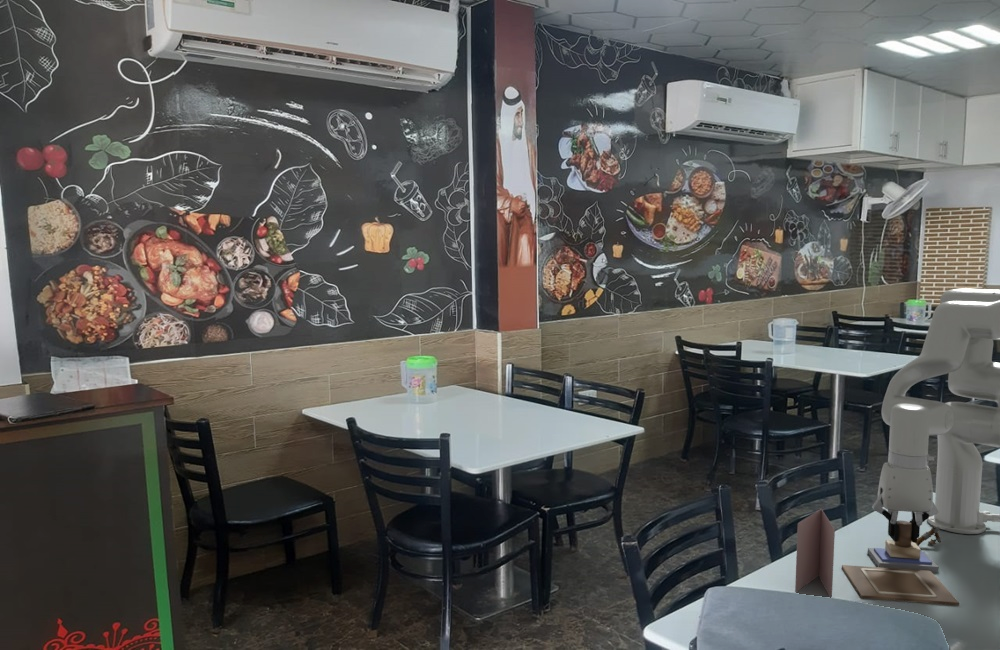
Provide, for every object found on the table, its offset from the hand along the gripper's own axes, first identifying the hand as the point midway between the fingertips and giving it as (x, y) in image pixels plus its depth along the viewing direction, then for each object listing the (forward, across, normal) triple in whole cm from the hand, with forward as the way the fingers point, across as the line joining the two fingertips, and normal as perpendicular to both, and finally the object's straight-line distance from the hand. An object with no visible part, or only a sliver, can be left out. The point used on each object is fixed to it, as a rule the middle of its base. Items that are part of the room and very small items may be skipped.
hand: (903, 539), depth 159 cm
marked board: (+6, +5, +12) cm, 14 cm away
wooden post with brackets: (+6, -9, -11) cm, 15 cm away
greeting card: (+6, +21, +16) cm, 27 cm away
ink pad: (+6, 0, 0) cm, 6 cm away
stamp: (+4, 0, 0) cm, 4 cm away
